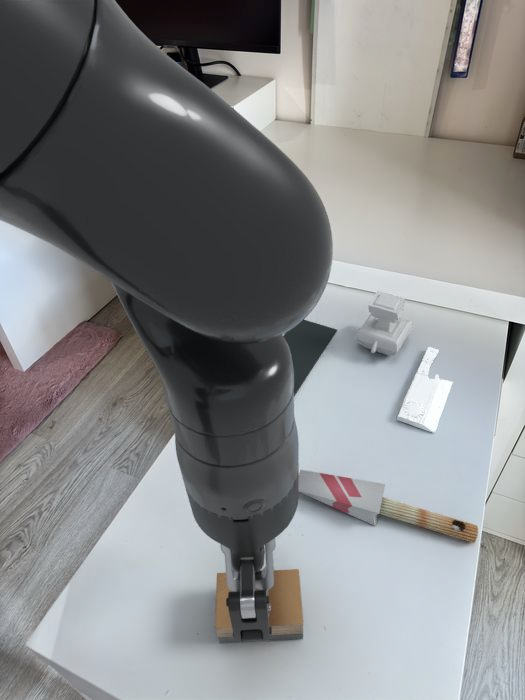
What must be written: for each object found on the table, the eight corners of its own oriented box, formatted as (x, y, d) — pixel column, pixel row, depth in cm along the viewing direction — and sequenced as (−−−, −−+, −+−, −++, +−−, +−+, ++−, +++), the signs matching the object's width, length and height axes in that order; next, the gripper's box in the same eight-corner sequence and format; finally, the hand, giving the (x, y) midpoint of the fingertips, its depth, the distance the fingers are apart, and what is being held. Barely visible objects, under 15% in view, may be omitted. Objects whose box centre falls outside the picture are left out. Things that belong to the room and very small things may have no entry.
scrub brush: (219, 643, 48) (214, 628, 45) (221, 589, 52) (216, 572, 49) (302, 639, 48) (303, 624, 45) (298, 585, 52) (299, 568, 49)
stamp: (392, 370, 74) (400, 326, 68) (350, 355, 76) (354, 311, 71) (412, 334, 79) (421, 290, 73) (372, 321, 82) (378, 278, 76)
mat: (258, 451, 64) (258, 449, 64) (212, 432, 67) (211, 429, 66) (336, 331, 80) (336, 328, 80) (297, 319, 83) (297, 316, 83)
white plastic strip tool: (461, 360, 74) (463, 355, 73) (433, 434, 65) (435, 429, 64) (426, 350, 76) (428, 344, 75) (395, 419, 67) (396, 414, 66)
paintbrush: (302, 458, 59) (480, 513, 54) (301, 471, 61) (473, 525, 56) (292, 485, 57) (478, 545, 52) (291, 498, 59) (471, 557, 53)
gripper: (189, 382, 38) (214, 497, 49) (170, 576, 27) (207, 665, 38) (290, 377, 37) (292, 493, 49) (309, 569, 27) (306, 660, 38)
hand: (254, 569), depth 43 cm, fingers open, 8 cm apart
